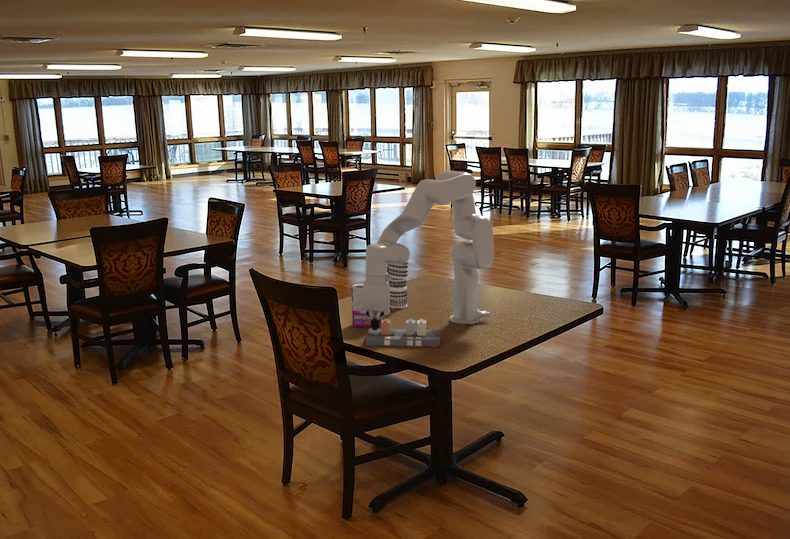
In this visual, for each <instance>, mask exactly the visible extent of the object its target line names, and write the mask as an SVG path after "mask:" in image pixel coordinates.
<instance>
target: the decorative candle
mask: <svg viewBox="0 0 790 539" xmlns="http://www.w3.org/2000/svg"><path fill="white" fill-rule="evenodd" d="M408 268H409V262H408V261H407V262H406V263H404V264H401V265H391V264H388V265H387V276H389V277H391V281H387V283H389V288H390V307H391V308H390V309H394V308H401V309H405V307H406V308H408V299H409V298H408V287H407V280H408V277H409V275H408V274H407V273H408V272H409V271H408V270H407V269H408ZM407 276H408V277H407Z"/></svg>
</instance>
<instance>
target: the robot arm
mask: <svg viewBox="0 0 790 539" xmlns="http://www.w3.org/2000/svg"><path fill="white" fill-rule="evenodd" d="M476 183H477V181H476V179H475V177H474V175H472V174H471V173H468V172H464V171H456V170H442V171H440V172H438V174H437V175H436V178H435V179H423V180H420V181H419V182H418V183H417V185H416V187H415V189H414V190H413V192H412V195H411V196H410V198H409V200H408V202H407V203H406V205H405V207H404V209H403V211H402V212H401V213H400V215H398V216H397V217H396V218H394V219H393V220H392V221H391V222H390V223H389V224H388V225H386V227H385V228H384V230H383V231H382V233H381V235H379V237H378V240H377V242H376V243H373V244H368V245H367V246H366V248H365V275H364V276H365V278H364V280H365V281H363V282H362V283H363V288H362V296H361V310H360V312H361V313H363V314H366V315H367V316H368V317H369V318H370V319H371V327H370V328H371V329H372V330H375V331H377V329H380V327H379V319H380V318H381V317H382V316H383V315H386V316H388V315H390V314H391V308H390V288H389V283H388V281H391V277H389V276H387V274H388V273H387V266H388V264H391V265H401V264H404V263H406V262H408V261H409V259H410V256H411V253H410V249H409V248H408V247H407V246H406V245H404V244H401V243H398V241H399V239H400V238H401V237H402V236H403V235H404V234H406V233H407V232H409V231H412V230H414V229H417V228H419V227H421V226H423V225H424V223H425V221H426V219H427V217H428V215H429V213H430V212H431V210H432V208H433V206H434V205H439V206H441V205H448V204H451V206H452V207H451V208H452V218H453V228H454V229H453V230H454V233H455V235H456V236H457V237H458V238H462V239H465V240H460V241H457V242H456V243H455V244H454V246H453V247H452V249H451V250H452V251H451V258H452V264H453V265H452V266H453V275H454V276H453V280H454V281H453V314H451V315H450V316H449V322H451V323H453V324H456V325H457V324H458V325H465V324H470V325H475V323H477V324H480V323H481V322H482V320H483V319H482V318H483V317H484V318H490V317H491V315H490V314H491V312H490V311H487V310H483V311H482V310H480V308H479V280H480V279H479V278H480V277H479V276H480V275H479V271H478V270H487V269H489V268H490V267H491V266H492V264H493V262H494V258H495V250H494V249H495V247H494V229H493V226H492V225H493V224H492V223H491V221H490V219H489V218H488V217H486V216H483V215H478V214H477V212H476V205H475V204H476V203H475V199H474V195H473V193H474V191H475V189H476V185H477V184H476ZM373 311H378V312H377V316H376V319H375V316H374V312H373ZM479 322H480V323H479Z"/></svg>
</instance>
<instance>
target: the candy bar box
mask: <svg viewBox="0 0 790 539" xmlns="http://www.w3.org/2000/svg"><path fill="white" fill-rule="evenodd" d="M363 283H364V282H361V283H360V282H359V283H358V282H357V283H354V282H353V283H351V309H352V310H351V311H352V312H351V316H352V328H372V327H371V319H370V318H369V317H368V316H367V315H366V314H363V313H361V312H360V310H361V296H362V288H363ZM373 312H374V316H375V319H376V316H377V312H378V311H373ZM382 320H383V319H382V317H381V318H380V319H379V328H381V321H382Z"/></svg>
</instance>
